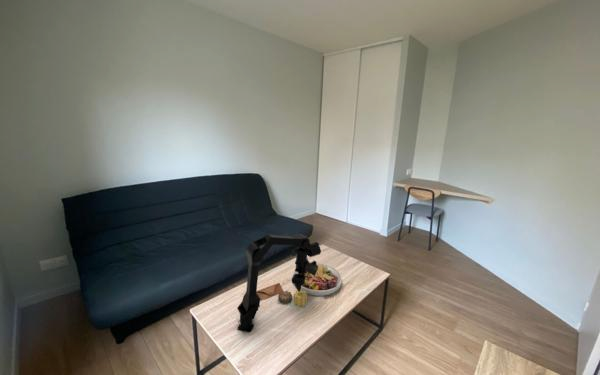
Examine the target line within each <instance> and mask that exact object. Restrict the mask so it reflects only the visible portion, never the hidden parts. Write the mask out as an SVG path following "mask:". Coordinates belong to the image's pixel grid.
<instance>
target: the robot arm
mask: <svg viewBox="0 0 600 375" xmlns="http://www.w3.org/2000/svg"><path fill="white" fill-rule="evenodd" d="M310 241H311V240H310V239H309V237H307V236H305V235H303V234H302V233H296V234H293V235H279V234H278V235H277V234H265V235H264V236H263V237H261V238H258V239H256V240H254V241H253V242H252V243H250V244H249V245H248V246H247V247H246V250H245V251H246V258H247V262H248V266H247V267H248V268H247V280H246V291H245V292H244V295H243V296H242V301H241V302H240V304H239V305H238V306H237V308H236V309H237V311H238V313H239V324H238V327H237V328H236V329H237V331H241V332H246V333H251V332H252V330H253V328H254V326H255V324H254V323H253V322H254V321H253V320H254V319H255V317H256V315H257V312H258V311H259V309H260V307H261V305H260V303H261V301H260V297H259V296H258V294H257V293H256V292H257V291H258V290H257V288H258V279H259V269H260V265H261V263H262V262H263V259H264V256H265V255H267V254H268V253H269V251H270V249H271V247H273V246H290V247H291V246H292V247H294V248H293V249H292V251H291V252H293V253H294V254H295V261H294V262H295V263H294V265H295V268H294V270H295V271H296V272H298V273H299V274H294V275H293V274H292V277H291V284H293V285H294V286H295V288H296V291H297V290H298V291H299V292H300V290H301V286H302V285H303V284H304V283H305V273H307V272H308V273H310V274H312V275H314V276H315V274H316V272H317V270H318V265H317V263H318V262H317V261H316V260H313V261H311V262H310V261H309V259H308V257H310V258H311V257H316V256H319V255H321V252H322V249H321V247H320V245H319V244H320V243H319V242H318V241H315V242H312V243H310ZM260 246H261V247H260Z"/></svg>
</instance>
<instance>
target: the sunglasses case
mask: <svg viewBox="0 0 600 375" xmlns="http://www.w3.org/2000/svg"><path fill="white" fill-rule="evenodd" d="M282 291H284V289H283V288H282V285H281V283H280V282H278V283H275V284H273V285H269V286H267V287H264V288H262V289H259V290H257V292H256V293H257V294H258V296H259V297H260V302H261V301H265V300H268V299H271V298H273V297H276V296H278V295H279V293H280V292H282Z"/></svg>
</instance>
